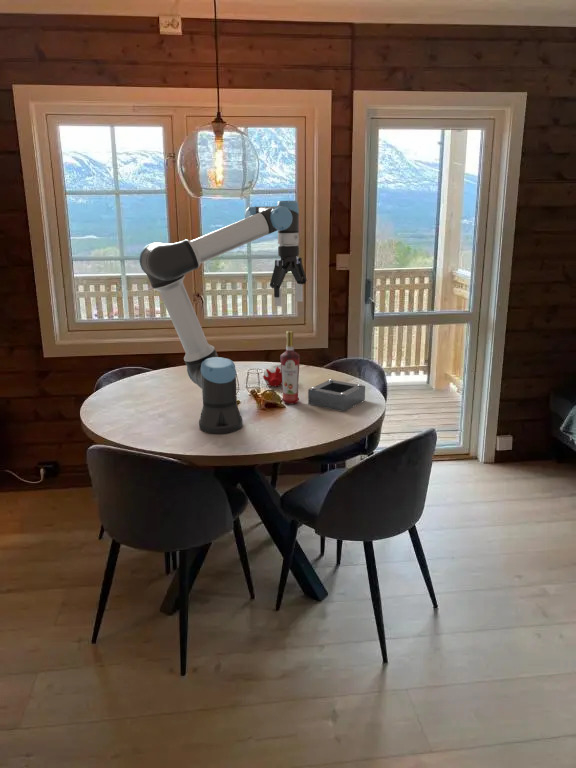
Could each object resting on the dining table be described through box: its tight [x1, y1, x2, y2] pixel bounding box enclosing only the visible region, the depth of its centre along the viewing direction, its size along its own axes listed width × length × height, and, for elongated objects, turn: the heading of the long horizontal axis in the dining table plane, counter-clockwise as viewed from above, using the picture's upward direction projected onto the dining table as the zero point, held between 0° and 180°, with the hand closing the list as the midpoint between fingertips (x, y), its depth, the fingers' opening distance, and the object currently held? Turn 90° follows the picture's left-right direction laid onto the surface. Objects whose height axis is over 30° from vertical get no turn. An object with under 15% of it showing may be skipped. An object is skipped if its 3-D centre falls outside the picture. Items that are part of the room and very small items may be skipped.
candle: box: [262, 363, 282, 388], centre depth 249 cm, size 9×11×15 cm
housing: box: [307, 378, 366, 412], centre depth 227 cm, size 16×16×7 cm
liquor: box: [280, 330, 301, 405], centre depth 225 cm, size 7×7×28 cm
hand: (289, 303), depth 218 cm, fingers open, 13 cm apart
